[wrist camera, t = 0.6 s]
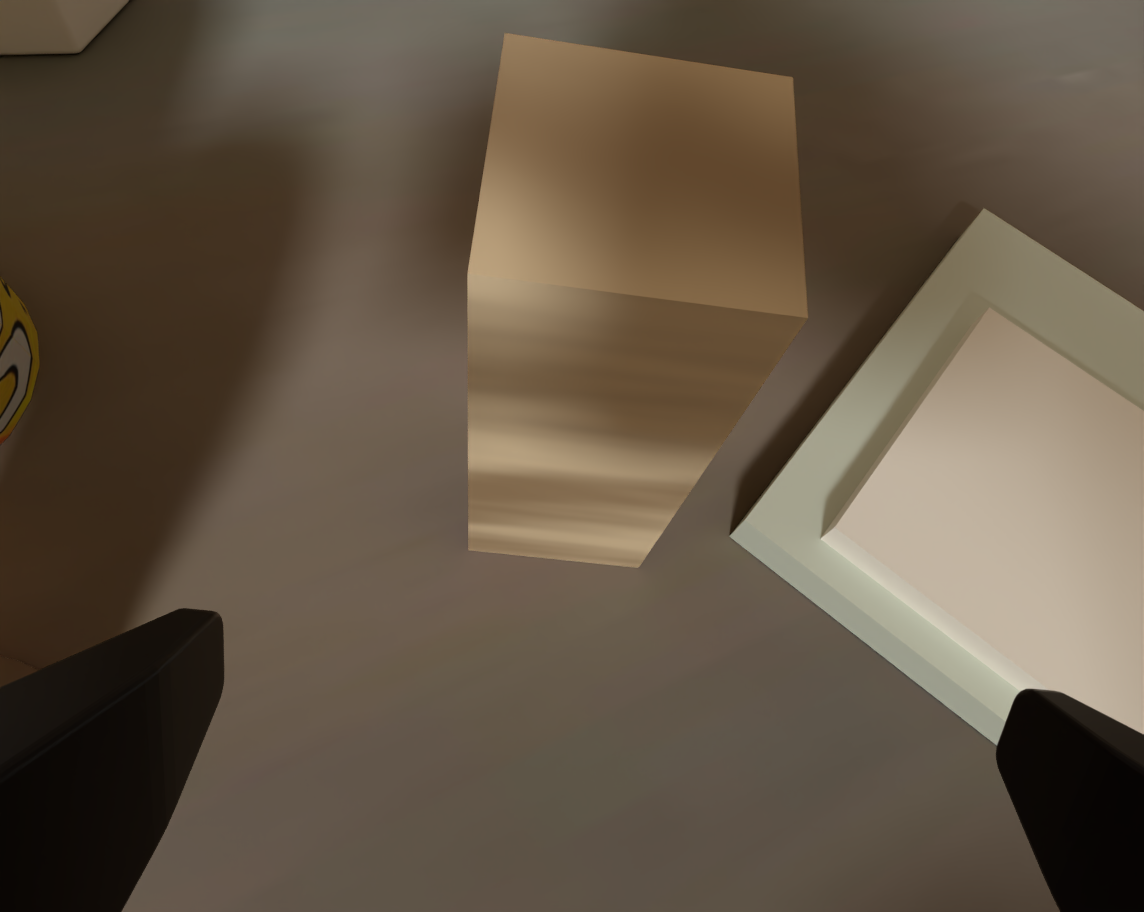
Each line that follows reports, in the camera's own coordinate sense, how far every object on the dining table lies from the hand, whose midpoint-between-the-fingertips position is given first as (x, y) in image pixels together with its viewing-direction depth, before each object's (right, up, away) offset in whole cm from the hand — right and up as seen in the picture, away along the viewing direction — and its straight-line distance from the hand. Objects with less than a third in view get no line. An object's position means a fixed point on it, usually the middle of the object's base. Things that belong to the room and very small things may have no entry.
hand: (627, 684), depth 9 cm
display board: (+17, -1, +17) cm, 24 cm away
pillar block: (-1, +2, +15) cm, 16 cm away
